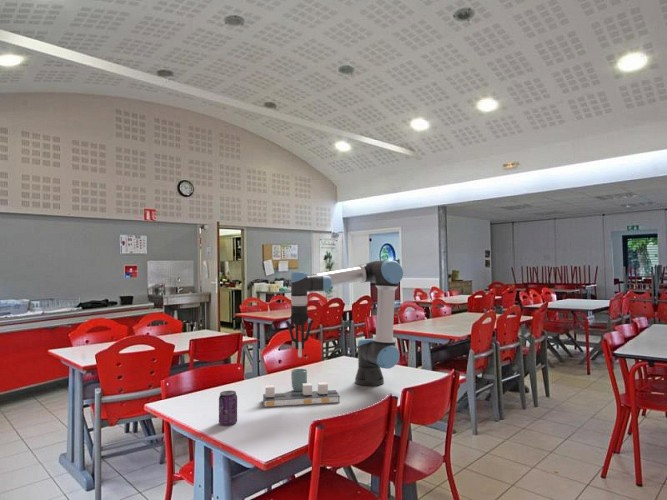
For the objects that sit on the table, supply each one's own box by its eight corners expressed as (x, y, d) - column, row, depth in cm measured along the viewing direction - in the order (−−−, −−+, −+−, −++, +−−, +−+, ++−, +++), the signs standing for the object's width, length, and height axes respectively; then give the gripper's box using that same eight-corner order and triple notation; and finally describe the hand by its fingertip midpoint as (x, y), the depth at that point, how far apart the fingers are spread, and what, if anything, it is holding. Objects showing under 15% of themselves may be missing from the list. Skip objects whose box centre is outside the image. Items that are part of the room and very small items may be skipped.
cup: (304, 393, 219) (304, 372, 220) (289, 392, 221) (289, 371, 221) (308, 388, 227) (308, 368, 227) (294, 388, 228) (293, 368, 229)
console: (335, 396, 213) (335, 389, 213) (339, 402, 202) (339, 395, 202) (263, 400, 207) (263, 393, 207) (263, 407, 197) (263, 400, 197)
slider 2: (311, 392, 208) (311, 382, 208) (312, 394, 204) (312, 385, 204) (302, 392, 207) (302, 383, 207) (303, 395, 203) (303, 385, 203)
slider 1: (274, 394, 205) (274, 384, 205) (274, 396, 201) (274, 387, 201) (265, 394, 204) (265, 385, 204) (265, 397, 200) (265, 387, 201)
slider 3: (326, 391, 209) (326, 382, 209) (327, 393, 205) (327, 384, 205) (317, 392, 208) (317, 382, 208) (319, 394, 204) (319, 384, 205)
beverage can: (220, 420, 180) (220, 390, 181) (238, 419, 181) (238, 389, 181) (217, 426, 173) (217, 395, 174) (236, 426, 174) (235, 394, 174)
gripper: (312, 304, 212) (312, 354, 211) (284, 304, 210) (285, 355, 209) (314, 305, 204) (315, 357, 203) (285, 306, 202) (286, 358, 201)
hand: (299, 356), depth 206 cm, fingers closed
